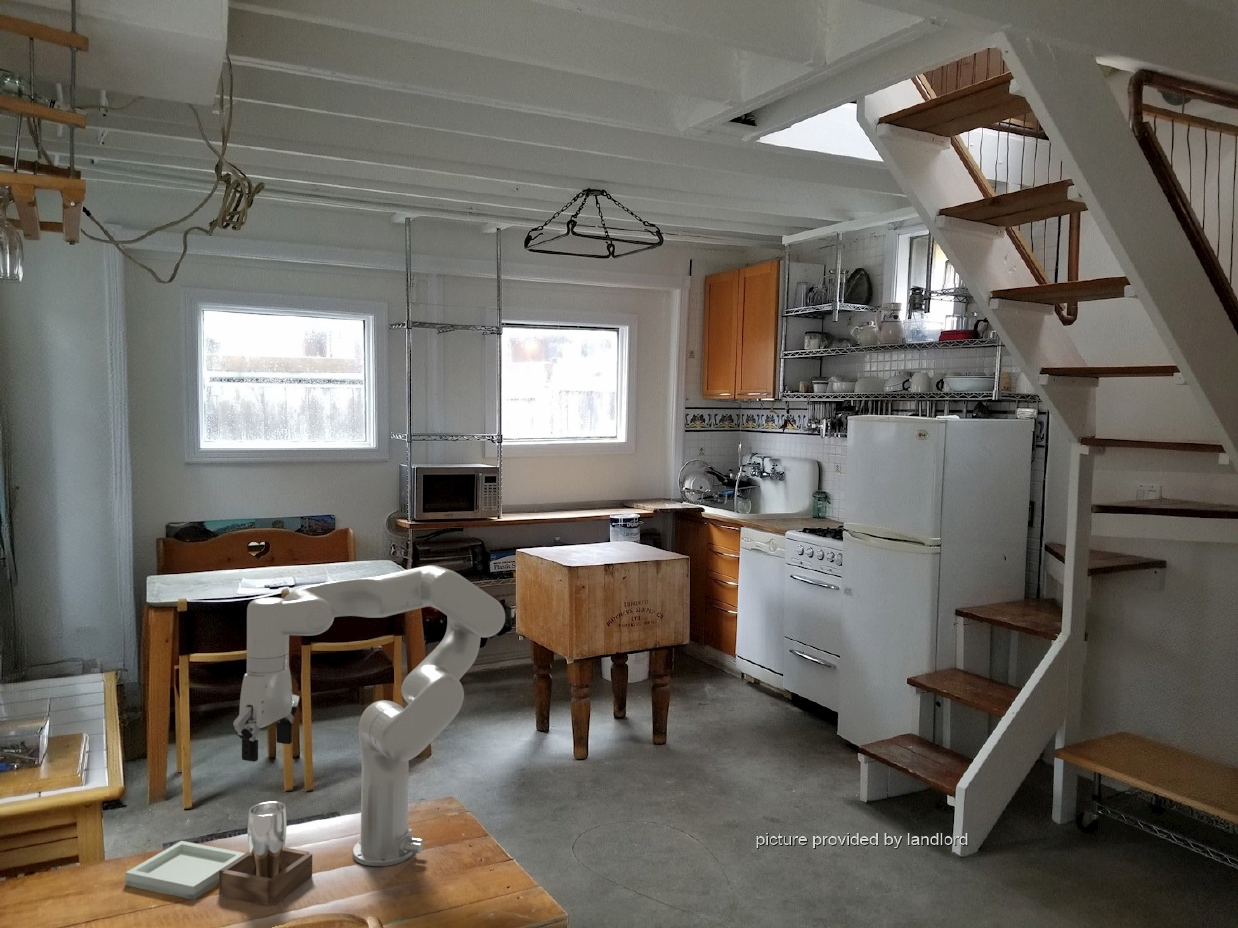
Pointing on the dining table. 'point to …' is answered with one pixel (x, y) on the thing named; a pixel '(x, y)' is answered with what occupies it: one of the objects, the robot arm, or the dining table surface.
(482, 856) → the dining table surface
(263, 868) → the beer glass
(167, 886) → the sage tray
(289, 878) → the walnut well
